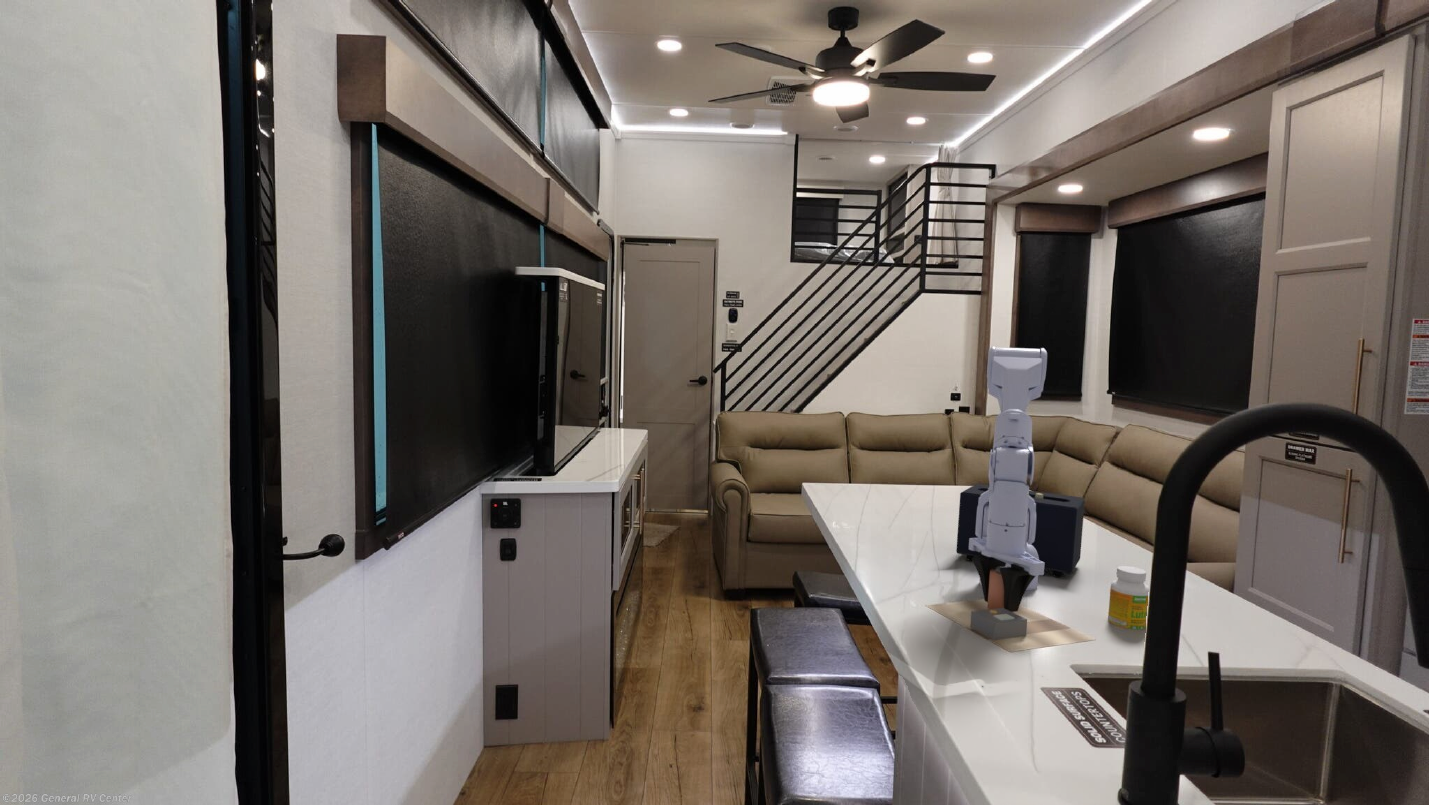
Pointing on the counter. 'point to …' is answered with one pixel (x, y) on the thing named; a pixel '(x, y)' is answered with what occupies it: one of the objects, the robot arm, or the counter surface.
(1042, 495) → the speaker
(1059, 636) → the board
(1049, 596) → the counter surface
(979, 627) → the block
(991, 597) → the peg
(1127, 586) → the supplement bottle
